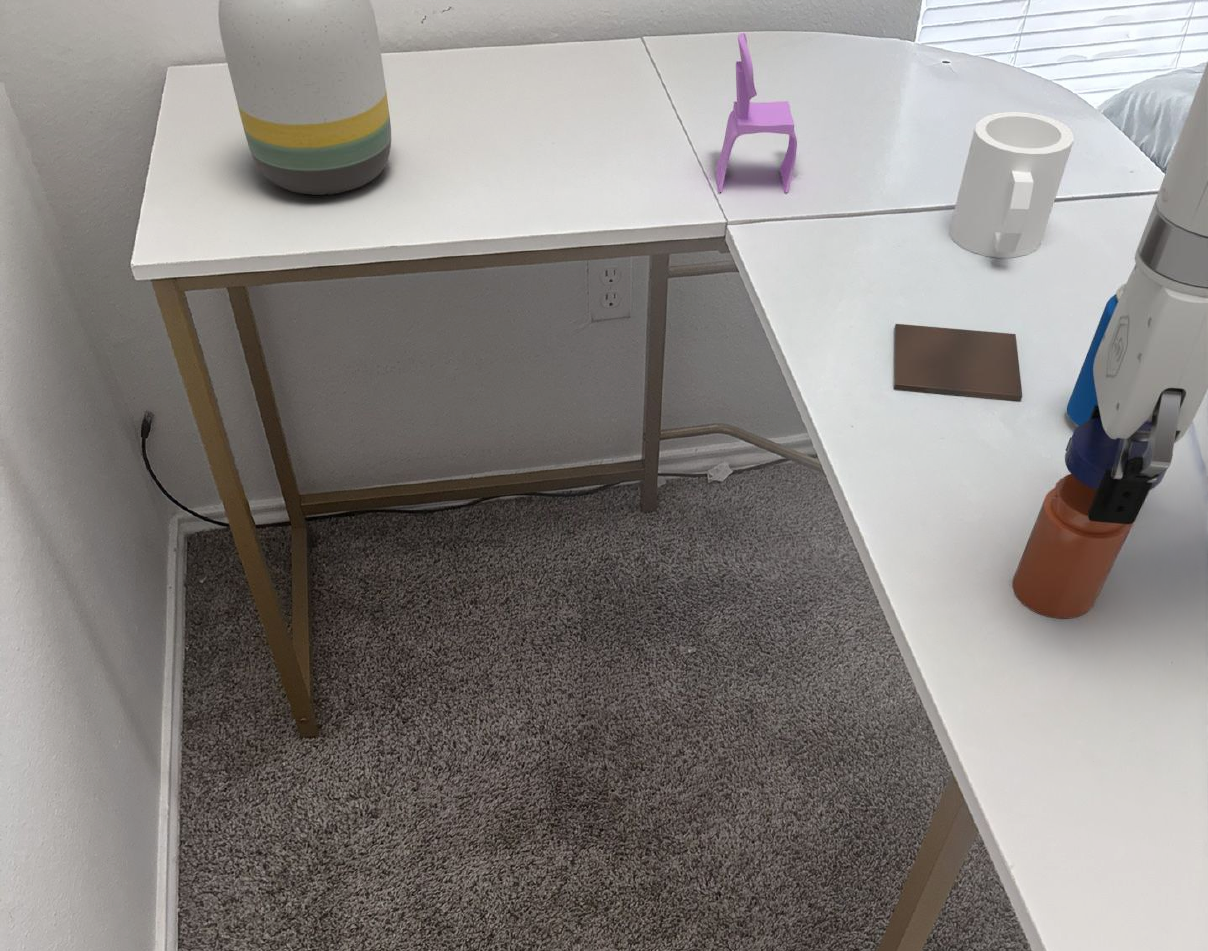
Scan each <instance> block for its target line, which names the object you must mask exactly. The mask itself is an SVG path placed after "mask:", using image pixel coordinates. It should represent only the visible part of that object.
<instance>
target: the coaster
mask: <svg viewBox="0 0 1208 951" xmlns="http://www.w3.org/2000/svg"><path fill="white" fill-rule="evenodd" d="M893 334H894V335H893V339H894V340H893V344H894V345H893V390H895V391H906V392H916V393H926V394H939V395H949V396H960V397H971V398H980V399H981V398H982V399H991V400H992V399H993V400H1002V401H1003V400H1005V401H1015V402H1021V401H1022V400H1023V390H1022V380H1021V370H1020V361H1019V360H1020V359H1019V352H1018V344H1017V342H1018V341H1017V335H1016V333H1011V332H1009V333H1008V332H996V331H986V330H985V331H984V330H975V329H974V330H972V329H963V328H950V327H941V326H940V327H939V326H938V327H937V326H926V325H915V324H904V323H895V325H894V329H893Z"/></svg>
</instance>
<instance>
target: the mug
mask: <svg viewBox="0 0 1208 951" xmlns="http://www.w3.org/2000/svg"><path fill="white" fill-rule="evenodd" d="M1074 136H1075V134H1074V133H1073V132H1072V130H1071V129H1070V127H1068V126H1067V125H1065V124H1063V123H1062V122H1061V121H1059V120H1057V119H1054V118H1051V117H1049V116H1045V115H1043V114H1042V115H1041V114H1037V113H1032V112H1022V111H1003V112H1002V111H1001V112H998V113H993V114H989V115H987V116H984V117H982V118H980V119H979V120H978V121H977V122H976V123H975V126H974V130H973V134H972V137H971V141H970V146H969V150H968V154H967V158H966V162H965V165H964V169H963V173H962V178H961V182H960V186H959V190H958V194H957V197H956V201H955V205H954V210H953V213H952V218H951V221H950V225H949V235H950V237H951V240H952V241H953V242H954V243H956V245H958V246H959V247H960V248H962V249H964V250H966V251H969V252H971V253H973V254H976V255H980V256H984V257H991V258H1000V259H1009V258H1019V257H1024V256H1027V255H1029V254H1031V253H1033V252H1035V251H1037V249H1039V247H1040V246H1041V244H1042V241H1043V238H1044V235H1045V233H1046V229H1047V226H1048V223H1049V219H1050V217H1051V213H1052V210H1053V207H1054V203H1055V201H1056V197H1057V195H1058V191H1059V189H1060V185H1061V183H1062V178H1063V175H1064V172H1065V170H1066V167H1067V163H1068V161H1069V157H1070V155H1071V151H1072V147H1073V145H1074V142H1075V141H1074Z"/></svg>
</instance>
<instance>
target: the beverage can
mask: <svg viewBox="0 0 1208 951" xmlns="http://www.w3.org/2000/svg"><path fill="white" fill-rule="evenodd" d="M1126 283H1127V282H1125V283H1123V284H1122V285H1120V286H1119V287H1118V288H1117V290H1116V293H1115V294H1114V295H1112V296H1111V297H1110V298H1109V299H1108V300H1107V301H1106V304H1105V306H1104V308H1103V311H1102V314H1101V317H1100V319H1099V321H1098V323H1097V324H1098V325H1097V326H1096V330H1095V332H1094V335H1093V337H1092V340H1091V342H1090V346H1089V348H1088V350H1087V353H1086V356H1085V358H1084V361H1083V364H1082V366H1081V369H1080V371H1079V374H1078V376H1077V379H1076V382H1075V384H1074V387H1073V390H1072V392H1071V394H1070V397H1069V400H1068V402H1067V406H1066V414H1067V417H1068V419H1069V420H1070V421H1071V422H1072V424H1073V425H1074V426H1075V427H1076V428H1077V427H1078V426H1079V425H1080V424H1082V423H1084V422H1085V421H1088V420H1089V419H1090V416H1091V414H1092V411H1093V409H1094V406H1095V405H1096V406H1098V400H1097V394H1096V388H1095V382H1094V374H1093V366H1094V359H1095V356H1096V354H1097V351H1098V348H1099V346H1100V344H1101V341H1102V339H1103V336H1104V334H1105V332H1106V329H1107V327H1108V325H1109V322H1110V320H1111V317H1112V315H1113V313H1114V310H1115V308H1116V306H1117V303H1118V301H1119V299H1120V297H1121V294H1122V292H1123V290H1124V287H1125V285H1126Z"/></svg>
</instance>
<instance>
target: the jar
mask: <svg viewBox="0 0 1208 951" xmlns="http://www.w3.org/2000/svg"><path fill="white" fill-rule="evenodd" d="M1096 492H1097V490H1095V489H1093V488H1091V487H1088V486H1087V485H1085V484H1083V483H1081V482H1080V481H1079V480H1077V479H1076V478H1075V477H1074V476H1073V475H1072V474H1071V473H1069V474H1067V475H1065V476H1064V477H1062V478H1060V479H1059V480H1058V481H1057V482H1056V483H1055V485H1054V487H1053V488H1052V489H1050V490H1049V491H1048V492H1047V493H1046V495H1045V497H1044V498H1043V501H1042V504H1041V506H1040V509H1039V512H1038V513H1037V517H1036V519H1035V522H1034V525H1033V527H1032V529H1031V532H1030V534H1029V537H1028V540H1027V541H1026V542H1027V543H1026V544H1025V547H1024V550H1023V552H1022V555H1021V557H1020V559H1019V562H1018V565H1017V568H1016V570H1015V572H1014V575H1013V577H1012V581H1011V584H1012V590H1013V592H1014V594H1015V596H1016V598H1017V599H1018V600H1019V601H1020V603H1021V604H1023V605H1024V606H1025V607H1026V608H1027V609H1029V610H1032V611H1033V612H1035V613H1037V614H1040V615H1043V616H1045V617H1049V618H1056V619H1072V618H1077V617H1081V616H1083V615H1085V614H1087V613H1088V612H1090V611H1091V610H1092V609H1093V607H1095V604H1096V603H1097V600H1098V598H1099V596H1100V594H1101V592H1102V590H1103V588H1104V586H1105V583H1106V581H1107V579H1108V578H1109V575H1110V574H1111V571H1112V569H1113V568H1114V566H1115V563H1116V561H1117V559H1118V557H1119V555H1120V553H1121V551H1122V549H1123V546H1124V545H1125V543H1126V541H1127V539H1128V536H1129V534H1130V532H1131V530H1132V528H1133V526H1134V523H1135V522H1134V523H1132V524H1118V523H1107V522H1096V521H1090V520H1089V518H1088V511H1089V508H1090V506H1091V504H1092V501H1093V499H1094V496H1095V494H1096Z"/></svg>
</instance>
